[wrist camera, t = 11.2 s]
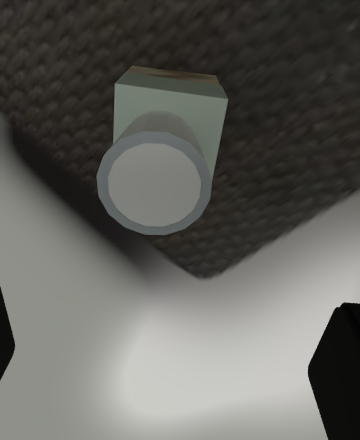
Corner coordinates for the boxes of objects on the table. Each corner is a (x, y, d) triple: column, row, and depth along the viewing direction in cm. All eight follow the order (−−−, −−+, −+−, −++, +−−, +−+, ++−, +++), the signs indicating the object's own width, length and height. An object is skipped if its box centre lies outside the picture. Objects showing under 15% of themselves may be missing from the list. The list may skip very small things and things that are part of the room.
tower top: (221, 85, 29) (228, 99, 24) (205, 173, 33) (208, 198, 28) (125, 71, 28) (115, 83, 24) (121, 162, 32) (112, 186, 28)
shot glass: (170, 202, 29) (169, 253, 23) (98, 157, 27) (75, 200, 21) (223, 137, 26) (236, 176, 20) (146, 80, 24) (135, 105, 18)
